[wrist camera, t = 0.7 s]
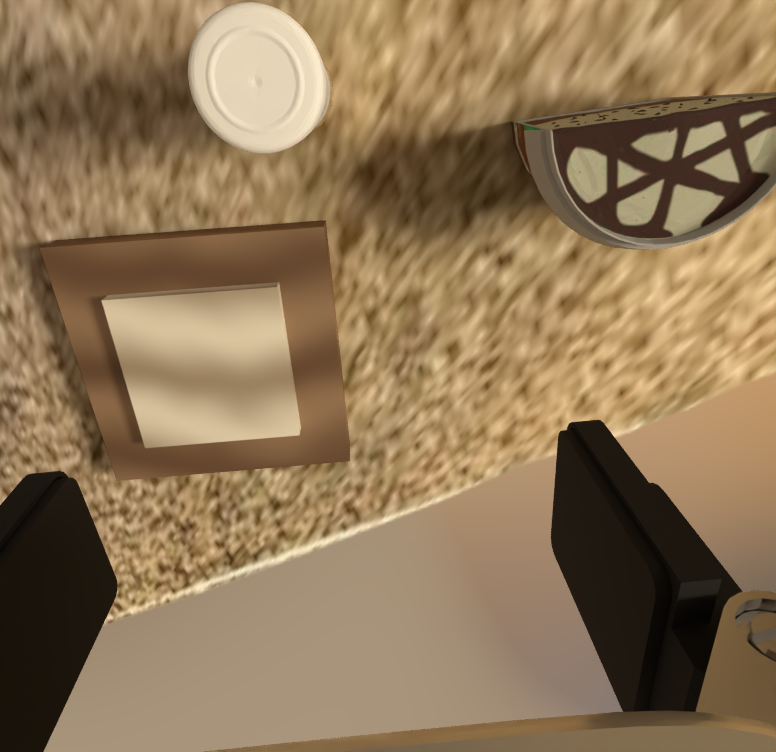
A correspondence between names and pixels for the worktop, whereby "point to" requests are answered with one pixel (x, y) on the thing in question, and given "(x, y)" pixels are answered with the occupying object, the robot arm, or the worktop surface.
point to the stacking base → (206, 347)
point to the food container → (653, 166)
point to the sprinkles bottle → (258, 78)
